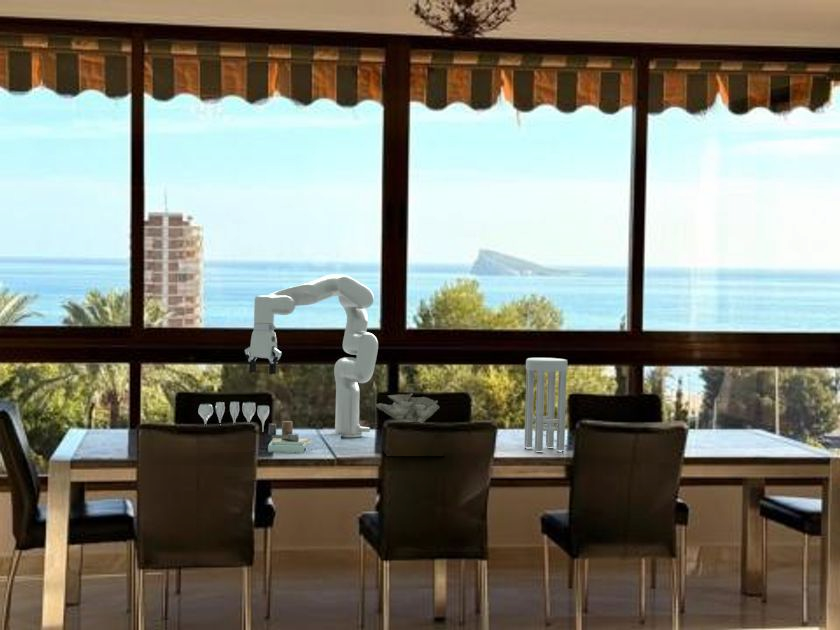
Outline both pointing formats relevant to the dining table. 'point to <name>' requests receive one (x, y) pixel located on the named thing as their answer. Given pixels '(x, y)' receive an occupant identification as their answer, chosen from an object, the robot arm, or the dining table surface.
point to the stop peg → (286, 428)
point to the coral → (409, 408)
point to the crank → (290, 437)
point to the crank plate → (287, 441)
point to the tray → (286, 447)
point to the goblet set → (235, 411)
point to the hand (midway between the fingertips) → (262, 373)
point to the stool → (551, 367)
